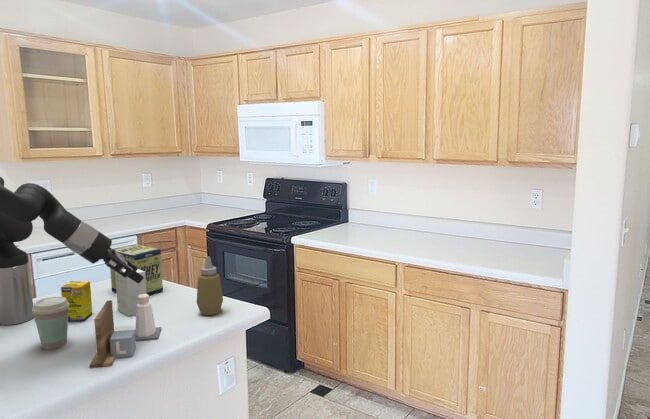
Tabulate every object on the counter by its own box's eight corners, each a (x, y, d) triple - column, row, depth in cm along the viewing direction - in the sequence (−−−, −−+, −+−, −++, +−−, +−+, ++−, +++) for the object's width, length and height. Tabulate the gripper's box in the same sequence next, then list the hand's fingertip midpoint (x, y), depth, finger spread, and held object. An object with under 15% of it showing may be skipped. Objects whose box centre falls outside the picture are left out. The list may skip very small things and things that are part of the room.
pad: (130, 341, 126) (130, 339, 126) (135, 331, 133) (135, 329, 133) (158, 339, 127) (158, 337, 127) (161, 329, 134) (161, 327, 134)
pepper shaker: (130, 335, 128) (128, 297, 127) (145, 328, 133) (142, 290, 132) (146, 338, 126) (143, 299, 125) (160, 330, 131) (158, 293, 130)
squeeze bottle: (204, 319, 141) (202, 261, 138) (192, 312, 147) (189, 256, 144) (228, 312, 146) (226, 256, 143) (215, 305, 152) (213, 252, 149)
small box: (148, 311, 148) (145, 271, 146) (128, 316, 143) (125, 275, 141) (136, 304, 153) (134, 266, 151) (117, 310, 149) (114, 270, 147)
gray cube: (111, 358, 116) (109, 339, 116) (115, 349, 121) (114, 331, 121) (132, 356, 117) (131, 337, 117) (136, 347, 122) (134, 329, 122)
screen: (89, 367, 112) (85, 320, 110) (102, 344, 124) (99, 301, 122) (112, 365, 113) (108, 318, 111) (122, 342, 125) (119, 299, 124)
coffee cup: (48, 337, 129) (44, 295, 127) (79, 337, 129) (75, 295, 127) (28, 351, 120) (23, 307, 118) (60, 352, 120) (56, 307, 118)
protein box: (138, 300, 158) (135, 255, 155) (110, 291, 166) (107, 249, 164) (164, 291, 166) (161, 249, 164) (136, 284, 175) (134, 243, 172)
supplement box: (63, 322, 139) (60, 286, 137) (73, 314, 145) (70, 280, 143) (83, 322, 139) (80, 286, 138) (93, 314, 145) (90, 280, 143)
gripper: (75, 246, 126) (125, 278, 134) (79, 260, 114) (133, 295, 122) (94, 224, 127) (142, 258, 136) (100, 236, 115) (153, 272, 124)
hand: (138, 275), depth 129 cm, fingers open, 8 cm apart
